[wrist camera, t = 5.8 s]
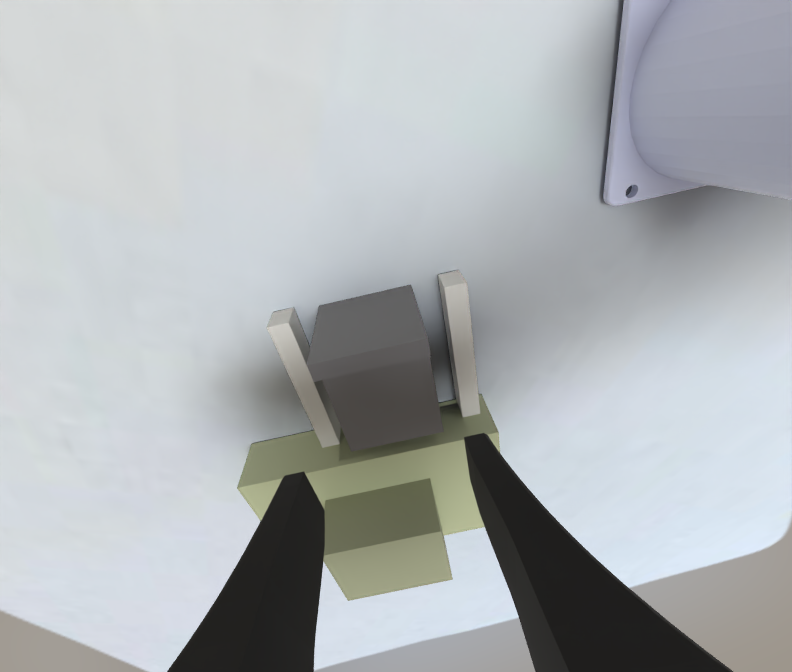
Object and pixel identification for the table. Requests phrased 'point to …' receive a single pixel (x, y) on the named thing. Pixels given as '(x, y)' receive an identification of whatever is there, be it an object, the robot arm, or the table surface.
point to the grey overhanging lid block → (376, 368)
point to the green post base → (380, 469)
